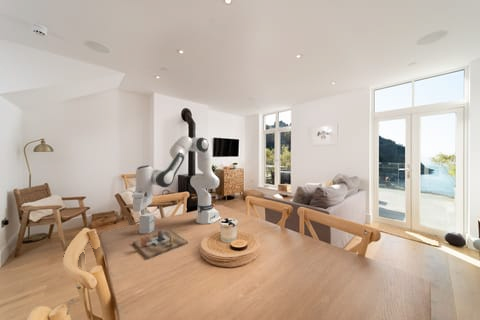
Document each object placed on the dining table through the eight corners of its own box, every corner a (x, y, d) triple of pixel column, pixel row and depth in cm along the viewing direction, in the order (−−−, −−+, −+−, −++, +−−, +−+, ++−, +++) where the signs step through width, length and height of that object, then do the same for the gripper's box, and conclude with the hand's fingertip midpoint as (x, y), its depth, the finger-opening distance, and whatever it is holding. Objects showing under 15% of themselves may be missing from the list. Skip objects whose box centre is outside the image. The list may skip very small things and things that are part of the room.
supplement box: (149, 233, 127) (149, 216, 127) (139, 233, 127) (139, 215, 127) (154, 229, 134) (154, 212, 134) (144, 229, 134) (144, 212, 134)
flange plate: (164, 236, 119) (164, 227, 119) (170, 240, 113) (170, 231, 113) (138, 244, 108) (138, 234, 108) (144, 250, 102) (144, 239, 102)
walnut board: (170, 232, 130) (170, 221, 130) (187, 243, 114) (188, 231, 114) (133, 243, 112) (133, 232, 112) (147, 259, 96) (148, 245, 96)
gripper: (145, 188, 121) (145, 209, 121) (130, 195, 101) (130, 220, 101) (154, 188, 122) (154, 209, 122) (142, 195, 101) (142, 219, 102)
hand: (143, 214), depth 111 cm, fingers closed
